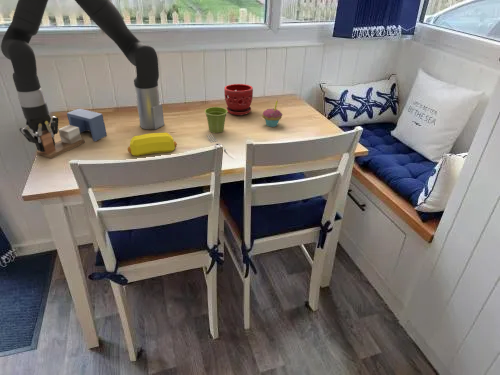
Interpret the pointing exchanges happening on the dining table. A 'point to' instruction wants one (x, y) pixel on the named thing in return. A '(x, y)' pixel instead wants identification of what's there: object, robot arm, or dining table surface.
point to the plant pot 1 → (216, 118)
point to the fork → (214, 140)
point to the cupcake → (272, 116)
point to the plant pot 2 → (238, 98)
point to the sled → (68, 141)
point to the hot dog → (151, 144)
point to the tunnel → (88, 122)
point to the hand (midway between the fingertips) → (47, 148)
